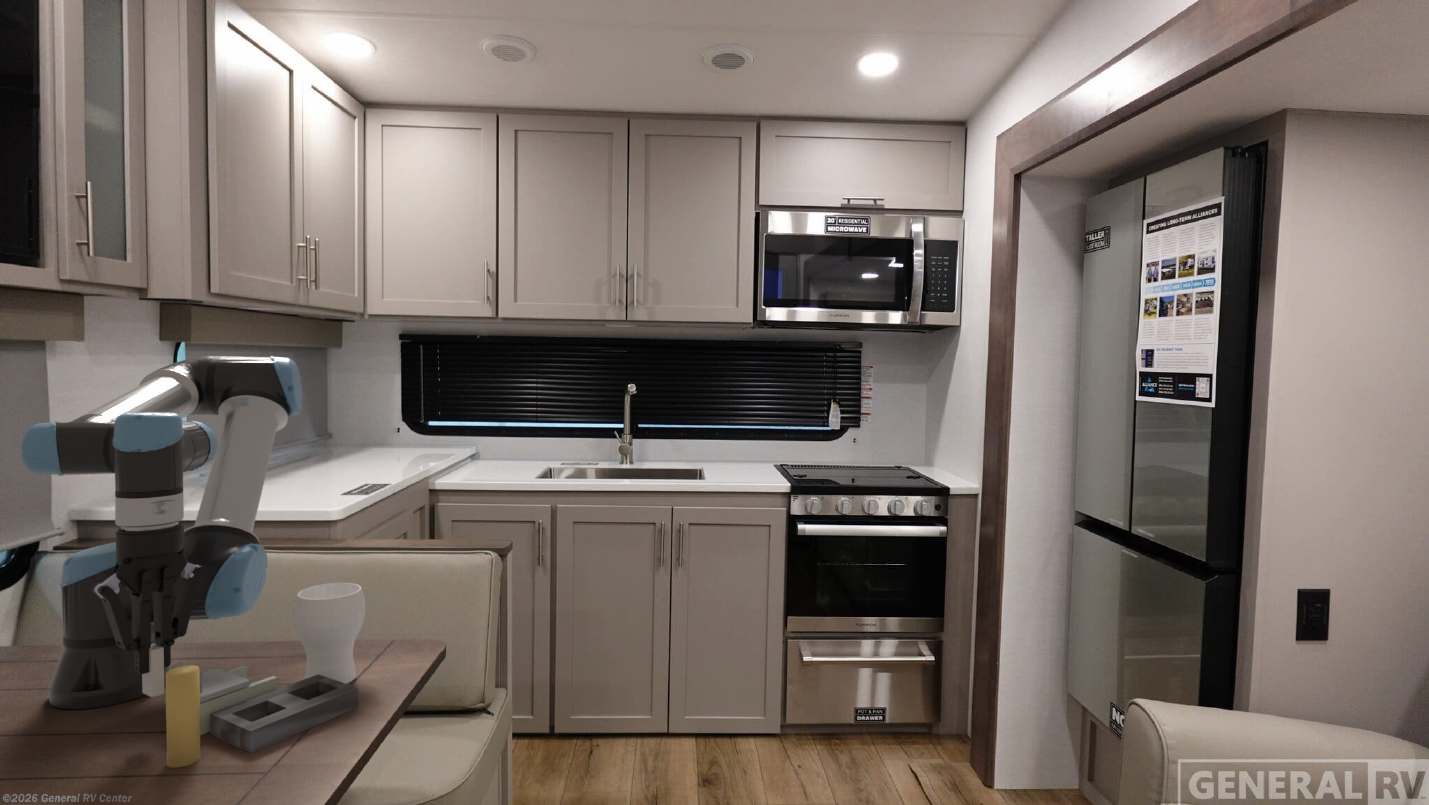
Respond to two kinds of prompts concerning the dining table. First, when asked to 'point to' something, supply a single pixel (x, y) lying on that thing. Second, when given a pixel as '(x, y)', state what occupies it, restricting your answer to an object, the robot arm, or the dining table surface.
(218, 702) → the pale green box tray
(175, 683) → the peg
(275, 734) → the peg board
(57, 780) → the dining table surface
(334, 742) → the dining table surface
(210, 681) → the lid
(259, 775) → the dining table surface
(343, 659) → the cup
